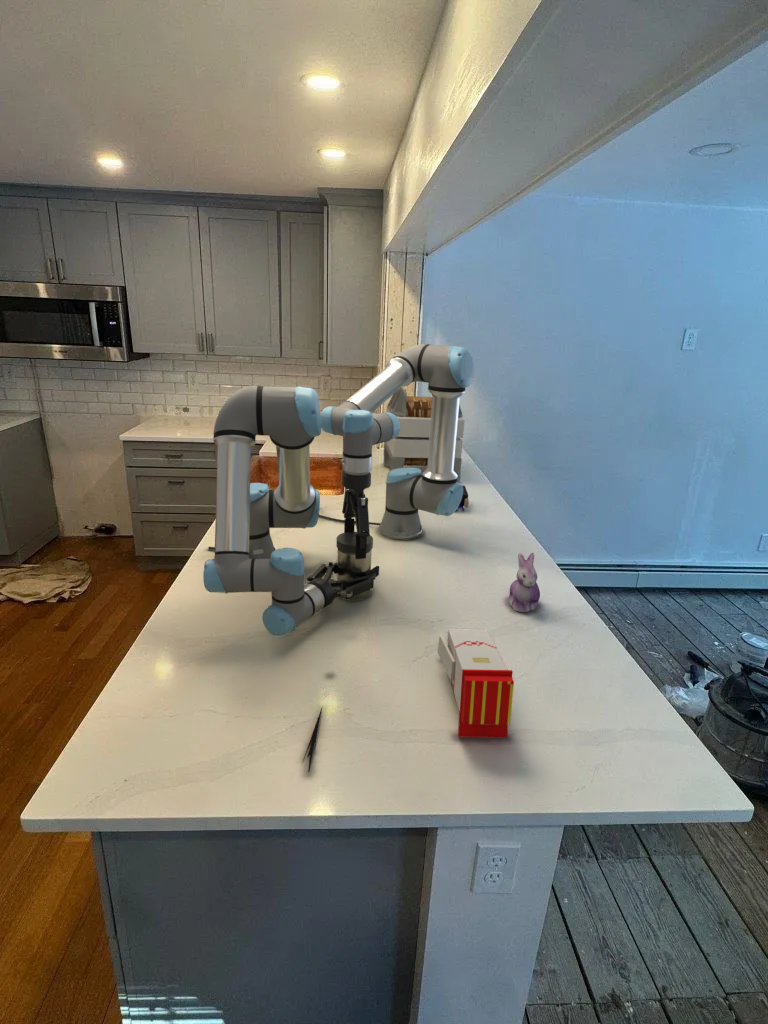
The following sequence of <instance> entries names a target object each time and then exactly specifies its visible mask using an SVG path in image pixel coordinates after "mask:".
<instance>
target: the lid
mask: <svg viewBox="0 0 768 1024" xmlns="http://www.w3.org/2000/svg"><path fill="white" fill-rule="evenodd" d="M356 534H357V531H354V532H345V533H344V532H342V533H339V534H338V535H337V536H336V548H338V549H339V550H341V551H343V552H347V553H355V550H356V537H355V535H356ZM373 548H374V538H373V536H372V535H371V534H370V536H369V537H367V544H366V552H367V551H370V550H371V549H373Z"/></svg>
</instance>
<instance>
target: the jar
mask: <svg viewBox="0 0 768 1024" xmlns="http://www.w3.org/2000/svg"><path fill="white" fill-rule="evenodd" d="M336 548H337V547H336ZM372 549H373V548H372ZM372 549H371V550H370V551H367V552H366V558H365V559H355V553H347V552H343V551H341V550H339V549H338V548H337V551H336V554H337V555H336V562H337V574H336V580H337V581H338V580H343V579H345V580H350V579H355V578H359V577H363V576H364V574H365V573H367V572H368V571H370V570H371V569H372V552H373V551H372ZM370 594H371V589H370V590H368V591H365V592H363V593H361V594H358V595H356V596H354V597H352V598H351V599H350V600H349V601H360V600H364V599H366V598H368V597H369V596H370ZM339 598H341V599H343V600H346V596H342V595H341V596H340V597H339Z"/></svg>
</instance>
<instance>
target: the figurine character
mask: <svg viewBox="0 0 768 1024" xmlns="http://www.w3.org/2000/svg"><path fill="white" fill-rule="evenodd" d="M462 486H463V495H462V499H461V502H460V504H459V506H458V508H457V509H456V511H455V512H457V511H458V509H461V511H462V512H464V511H465V508H469V505H470V500H469V492H468V490H467V488H466V485H464V484H462Z"/></svg>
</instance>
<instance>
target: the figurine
mask: <svg viewBox="0 0 768 1024" xmlns="http://www.w3.org/2000/svg"><path fill="white" fill-rule="evenodd" d="M517 559H518V569H517V572H516V579H515V580H514V581H512V582H511V584H510V586H509V595H508V604H509V606H511V607H512V609H513V611H516V612H521V613H528V612H530V611H534V610H536V608H537V606H538V604H539V601H540V598H541V592H540V591H541V590H540V588H539V585H538V583H537V581H538V573H537V571H536V568H535V566H534V561H535V553H534V552H530V553H529V555H528V557H527V559H525V557H524V556H523V554H522V553H518V556H517Z"/></svg>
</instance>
